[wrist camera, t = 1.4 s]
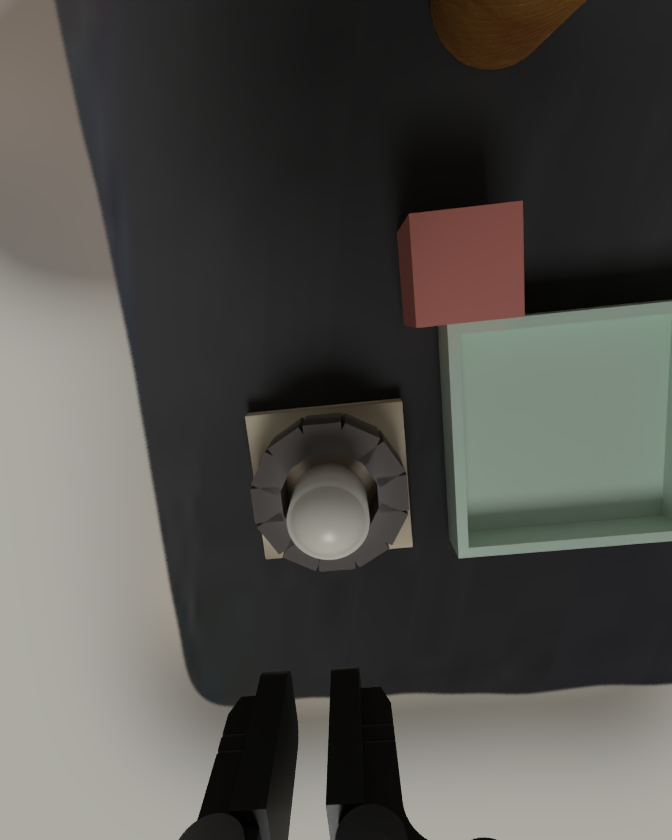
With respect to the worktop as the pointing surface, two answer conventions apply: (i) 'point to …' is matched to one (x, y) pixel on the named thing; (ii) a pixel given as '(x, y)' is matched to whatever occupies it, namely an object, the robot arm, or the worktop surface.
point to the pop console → (331, 443)
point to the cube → (462, 265)
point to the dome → (328, 512)
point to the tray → (558, 429)
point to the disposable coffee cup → (497, 28)
